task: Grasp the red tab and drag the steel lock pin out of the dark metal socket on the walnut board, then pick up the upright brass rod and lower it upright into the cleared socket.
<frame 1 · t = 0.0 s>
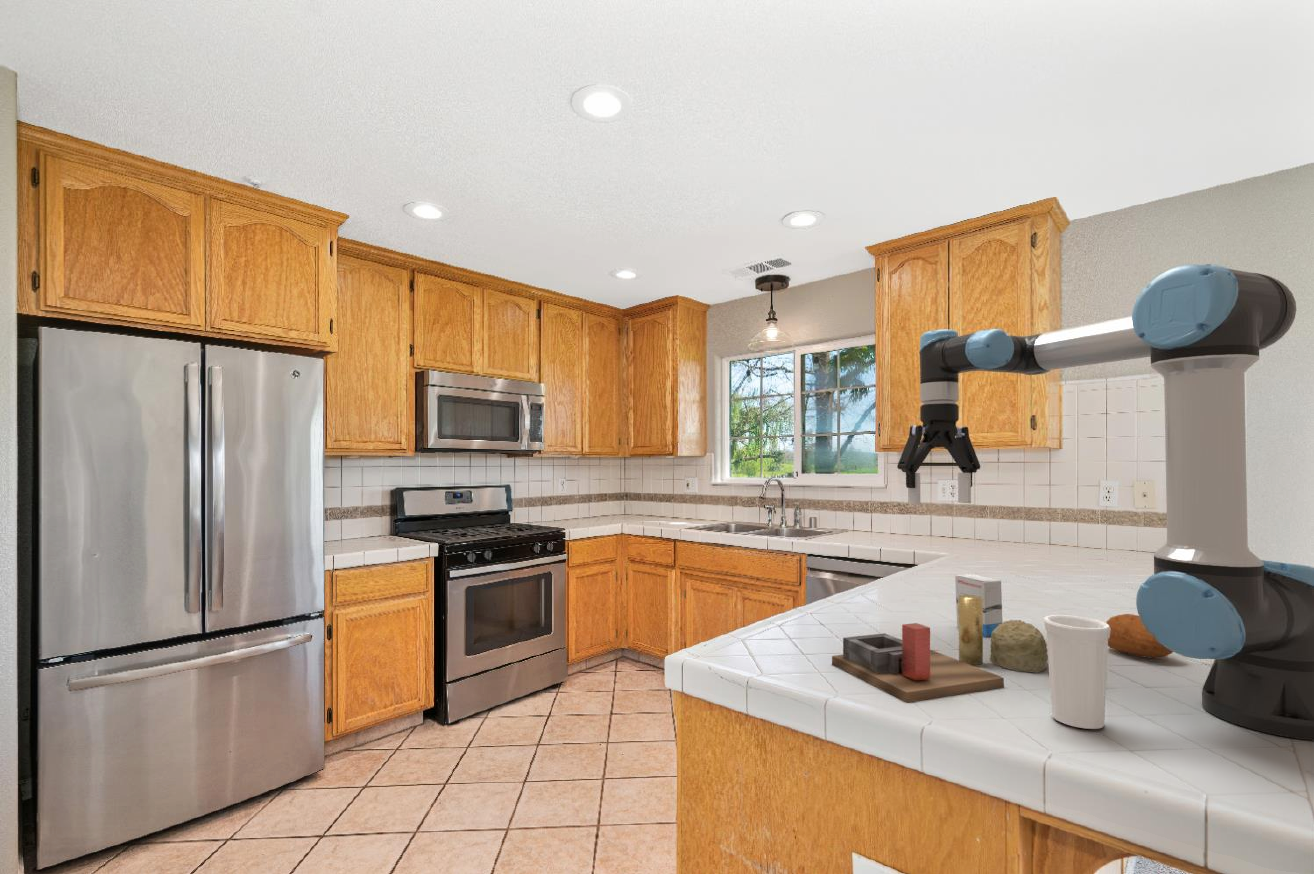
hand: (939, 503, 135), 28 cm above the countertop, fingers open, 13 cm apart
upright brass rod: (970, 662, 117), on the countertop
mount: (907, 672, 112), on the countertop
decorative object: (1018, 665, 116), on the countertop
potato: (1141, 657, 122), on the countertop
cup: (1077, 723, 91), on the countertop
pin: (901, 645, 108), point 6 cm above the countertop, slide at 0.0 cm
ink box: (978, 632, 139), on the countertop
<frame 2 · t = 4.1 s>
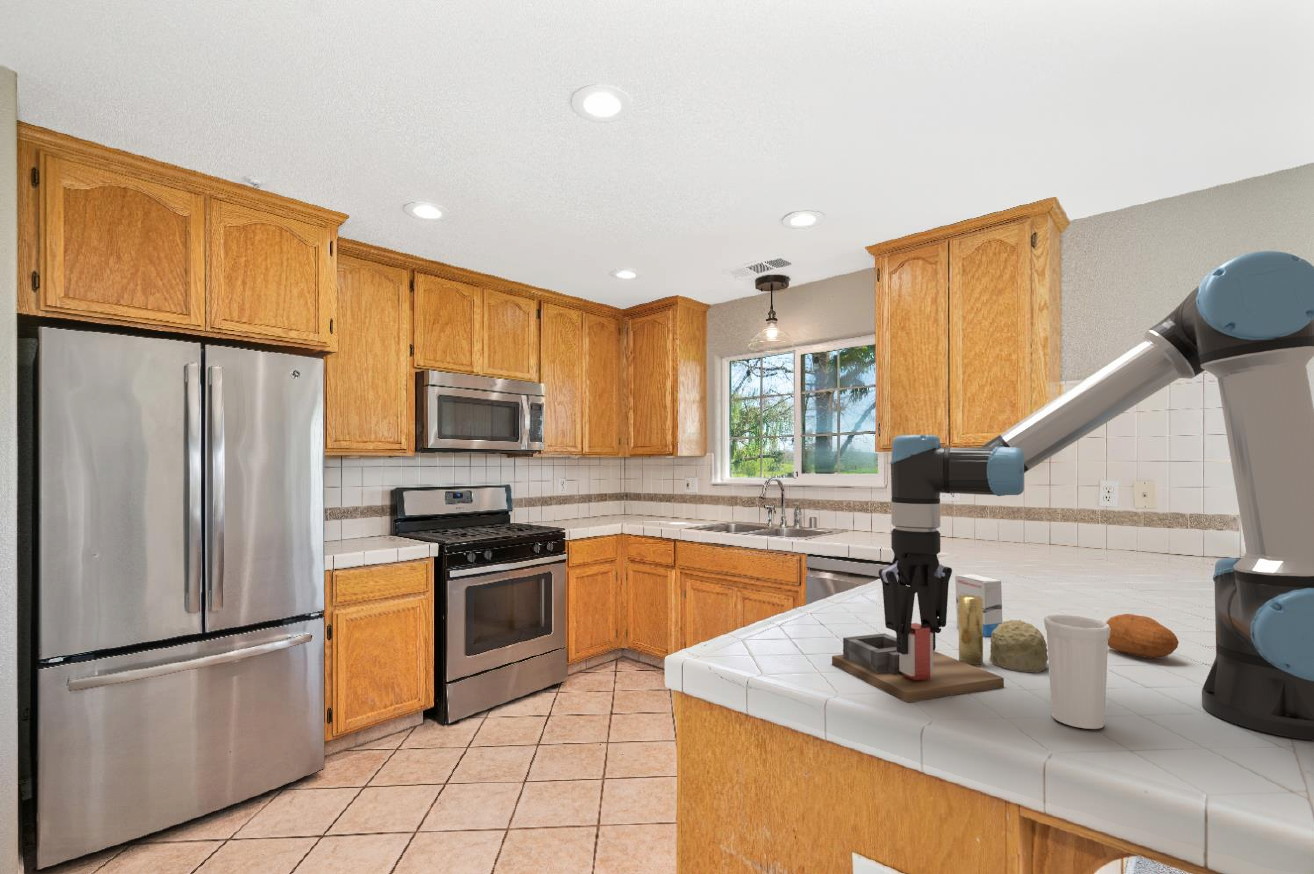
hand: (916, 671, 104), 3 cm above the countertop, fingers closed on pin, 3 cm apart
pin: (901, 645, 108), point 6 cm above the countertop, slide at 0.0 cm, touching gripper
everything else where it was.
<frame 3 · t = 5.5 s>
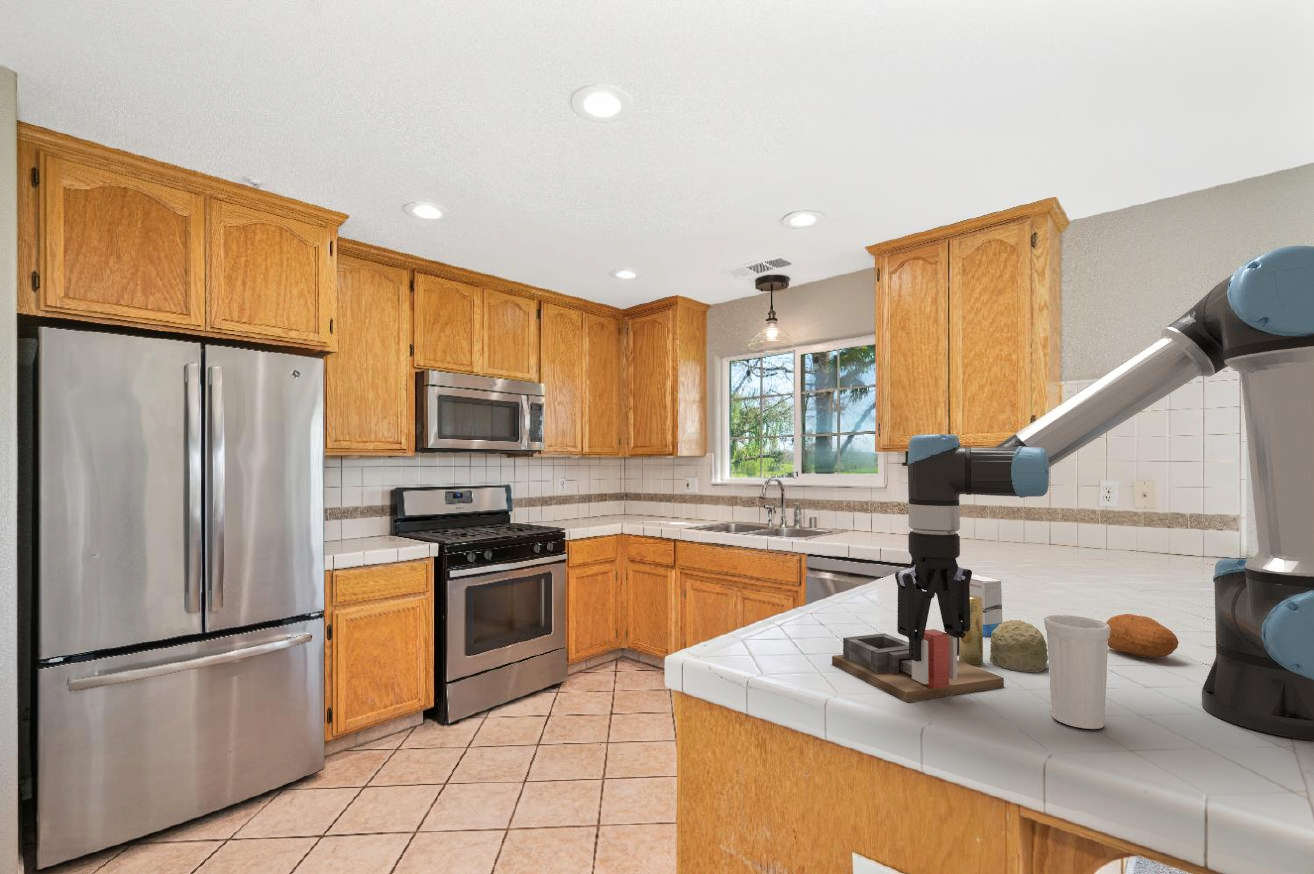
hand: (934, 678, 101), 3 cm above the countertop, fingers open, 5 cm apart
pin: (918, 651, 104), point 6 cm above the countertop, slide at 3.9 cm
everything else where it was.
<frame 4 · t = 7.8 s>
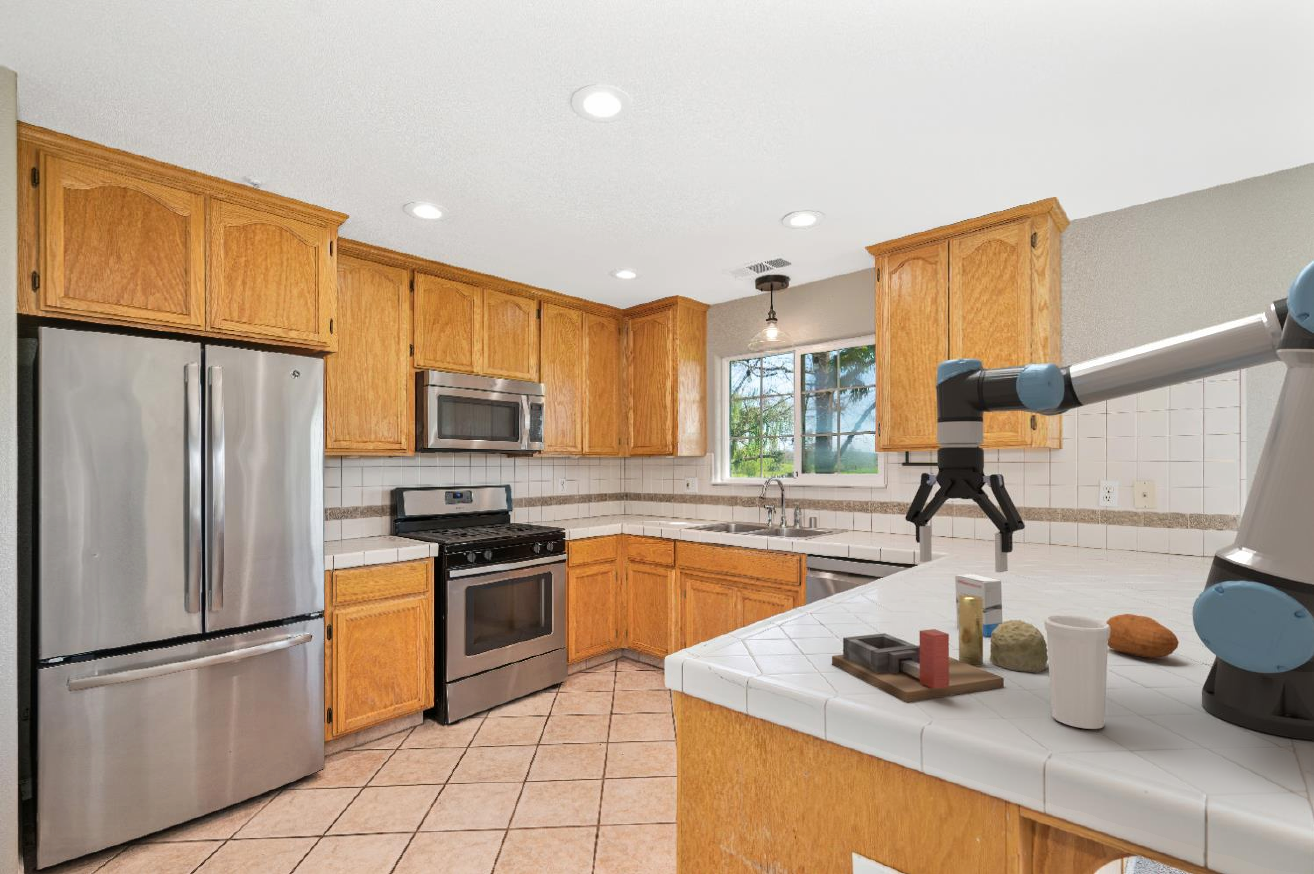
hand: (961, 566, 113), 18 cm above the countertop, fingers open, 13 cm apart
nothing on the countertop moved.
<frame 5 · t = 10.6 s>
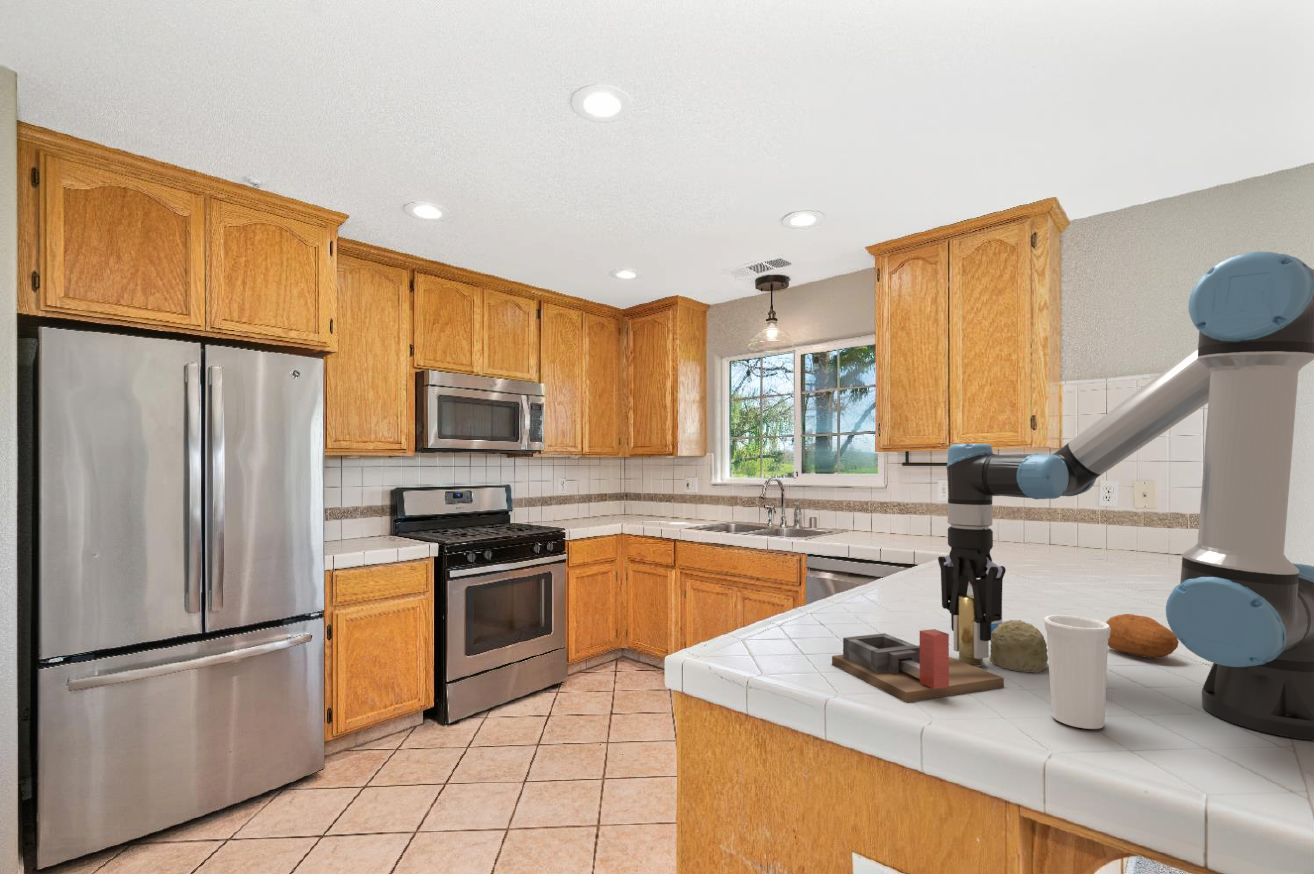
hand: (970, 653, 117), 2 cm above the countertop, fingers closed on upright brass rod, 4 cm apart
upright brass rod: (970, 662, 117), on the countertop, touching gripper
everything else where it was.
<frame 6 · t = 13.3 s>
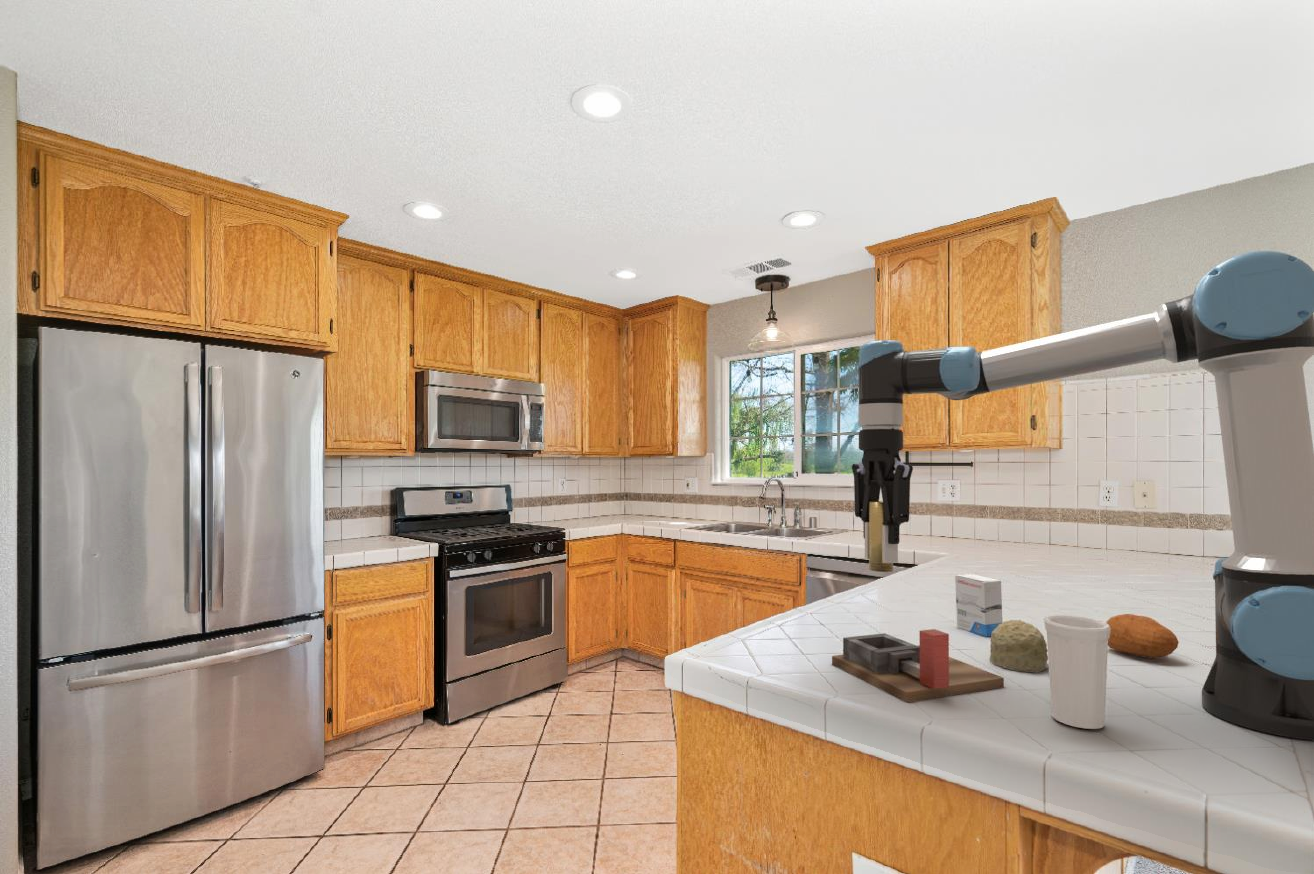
hand: (881, 560, 113), 19 cm above the countertop, fingers closed on upright brass rod, 4 cm apart
upright brass rod: (881, 569, 113), point 18 cm above the countertop, touching gripper
everything else where it was.
when the fingers open (6 cm above the countertop, at t = 16.0 s): upright brass rod drops 2 cm, resting on mount.
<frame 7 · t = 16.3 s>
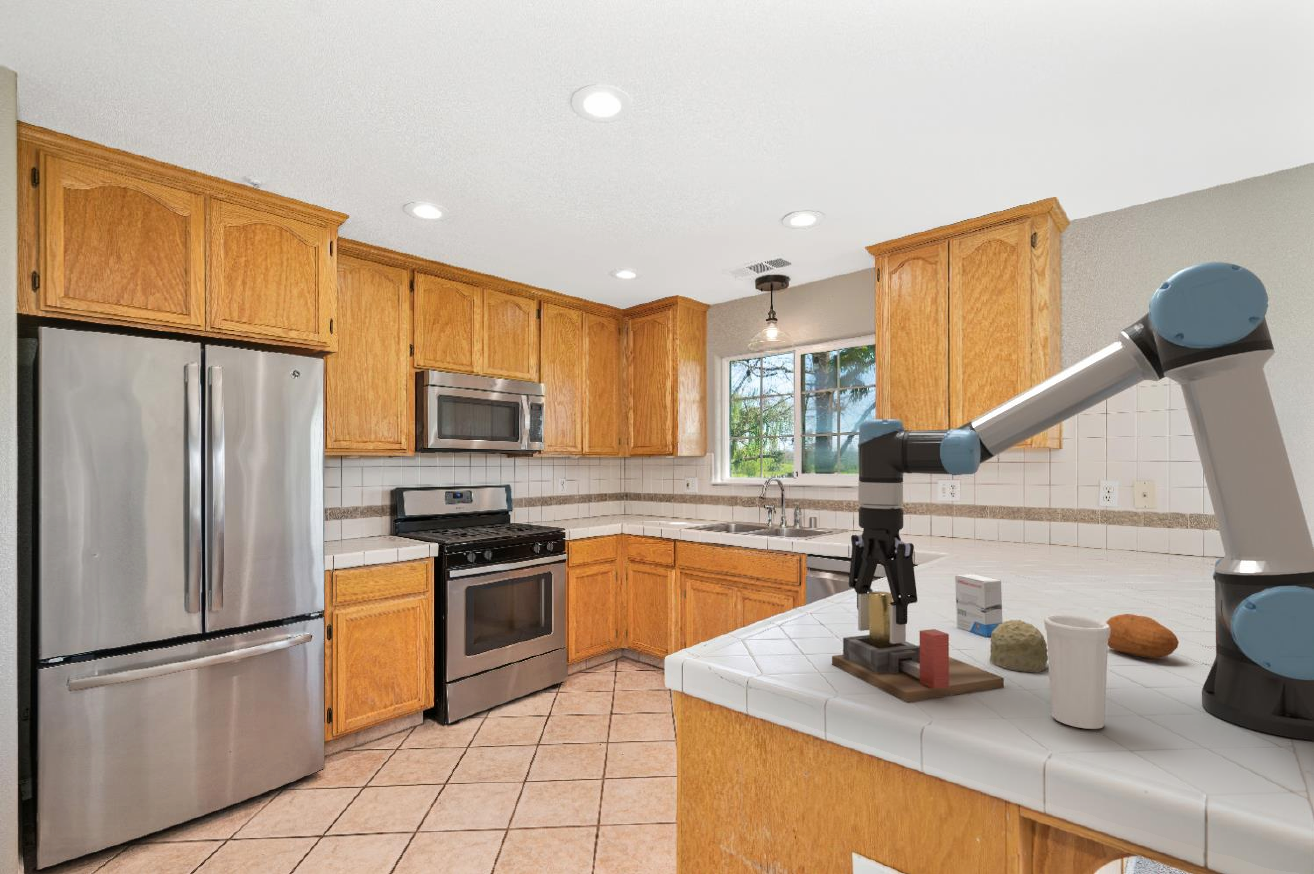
hand: (881, 635, 112), 6 cm above the countertop, fingers open, 8 cm apart
upright brass rod: (881, 662, 112), point 2 cm above the countertop, touching mount
everything else where it was.
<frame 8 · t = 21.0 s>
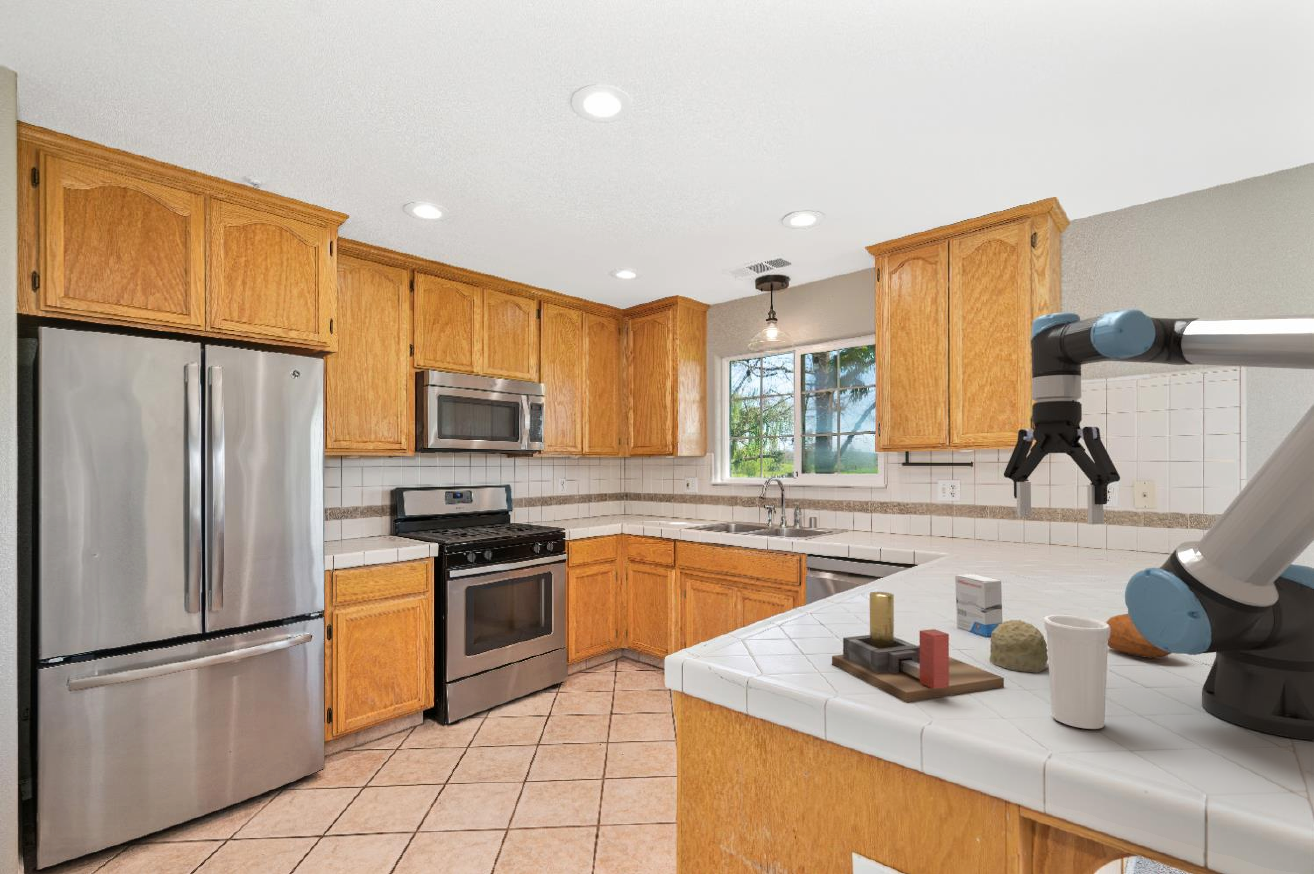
hand: (1057, 520, 113), 27 cm above the countertop, fingers open, 13 cm apart
nothing on the countertop moved.
at the end: pin slide at 3.9 cm; upright brass rod 0.1 cm from the target spot on the mount, point 1.5 cm above the mount's base; upright brass rod tilted 0° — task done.
